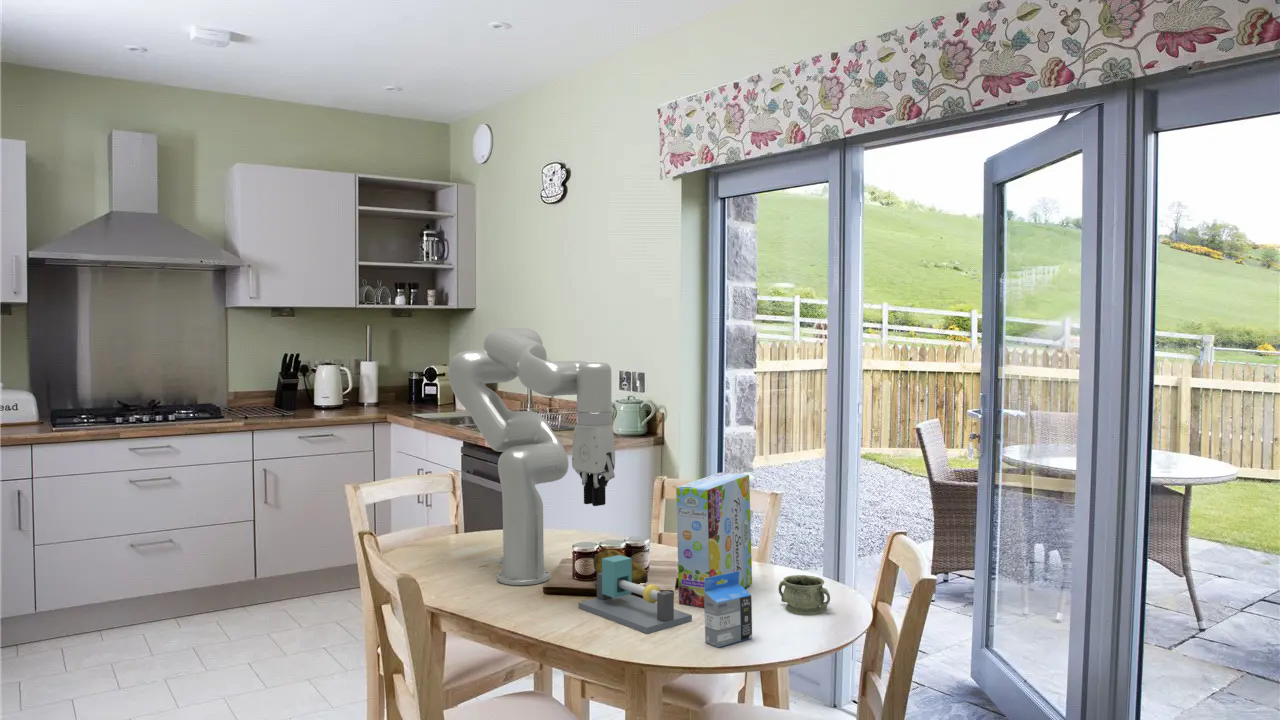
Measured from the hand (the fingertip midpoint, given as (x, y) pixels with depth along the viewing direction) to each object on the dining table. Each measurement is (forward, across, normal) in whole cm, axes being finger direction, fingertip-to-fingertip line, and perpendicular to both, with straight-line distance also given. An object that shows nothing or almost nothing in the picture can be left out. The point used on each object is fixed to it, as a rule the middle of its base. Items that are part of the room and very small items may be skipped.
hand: (594, 503), depth 196 cm
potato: (+21, -5, +11) cm, 25 cm away
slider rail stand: (+21, +13, 0) cm, 25 cm away
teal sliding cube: (+18, +8, 0) cm, 20 cm away
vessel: (+21, +34, +29) cm, 50 cm away
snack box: (+21, +14, +23) cm, 34 cm away
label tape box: (+21, +37, +3) cm, 43 cm away
